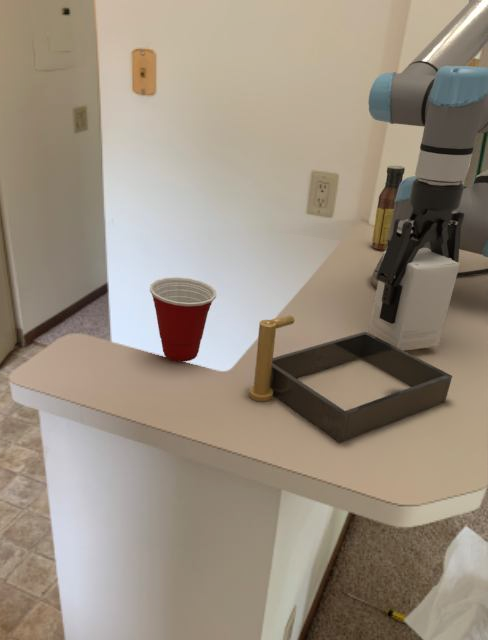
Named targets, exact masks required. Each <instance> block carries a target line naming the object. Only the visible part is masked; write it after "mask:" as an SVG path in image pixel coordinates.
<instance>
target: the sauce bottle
mask: <svg viewBox="0 0 488 640" xmlns="http://www.w3.org/2000/svg"><path fill="white" fill-rule="evenodd" d="M405 169H406V168H405V166H403V165H388V166H387V168H386V180H385V183H384V184H385V186H384V188H383V189H382V190H381V191H380V193H379V195H378V202H377V206H376V213H375V220H374V226H373V234H372V249H376V250H378V251H383V252H384V251H385V250H386V247H387V243H388V237H389V232H390V226H391V221H392V215H393V210H394V205H395V202H394V201H395V199H396V196H397V192H398V188H399V185H400V183H401V182H402V181H403V178H404V174H405Z"/></svg>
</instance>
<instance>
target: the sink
mask: <svg viewBox="0 0 488 640" xmlns="http://www.w3.org/2000/svg"><path fill="white" fill-rule="evenodd" d="M294 323H295V317H294V316H293V315H291V314H289V315H284V316H280V317H277V318H272V319H263V320H260V321H259V323H258V335H257V347H256V357H255V367H254V368H255V369H254V379H253V386H251V387H250V388H249V390H248V396H249V398H250V399H252V400H253V401H256V402H269V401H271V400H272V399H273V398H274V397H276V398H277V399H279V400H280V401H281V402H282V403H284V404H285V405H287V406H288V407H289V408H290V409H292V410H293V411H295V412H296V413H297V414H299V415H301V416H302V418H304V419H306V420H307V421H308V422H310V423H311V424H313V425H314V426H316V427H317V428H318V429H320V430H321V431H323V432H324V433H325V434H327V435H328V436H330V437H331V438H332V439H333V440H335V441H337V442H338V443H339V444H341V443H343V442H346V441H348V440H351V439H353V438H356V437H358V436H361V435H363V434H366V433H369V432H371V431H374V430H376V429H379V428H382V427H384V426H386V425H389V424H392V423H394V422H397V421H399V420H403V419H404V418H406V417H409V416H412V415H414V414H417V413H419V412H422V411H425V410H427V409H430V408H433V407H435V406H438V405H440V404H443V403H446V400H447V397H448V393H449V389H450V387H451V384H452V383H451V382H452V379H453V375H452V374H449V373H447V372H445V371H444V370H442V369H440V368H438V367H436V366H434V365H432V364H431V363H428V362H426V361H424V360H422V359H421V358H418V357H416V356H414V355H412V354H410V353H408V352H407V351H406V350H404V351H403V350H401V349H399V348H397V347H395V346H393V345H391V344H389V343H387V342H385V341H383V340H381V339H379V338H377V337H376V336H374V335H373V334H372V333H370V332H367V331H362V332H359V333H355V334H352V335H348V336H344V337H341V338H338V339H335V340H331V341H327V342H323V343H320V344H317V345H313V346H309V347H306V348H303V349H299V350H296V351H292V352H289V353H285V354H282V355H279V356H274V351H275V343H276V341H275V340H276V333H277V329H280V328H283V327H287V326H291V325H293V324H294ZM359 359H362V360H364V361H365V362H368V363H369V364H371V365H373V366H374V367H376V368H377V369H380V370H382V371H383V372H385V373H387V374H389V375H391V376H393V377H394V378H395V379H398V380H400V381H401V382H402V383H404V384H407V385H409V386H410V387H408V388H405V389H402V390H394V391H392V392H390V394H388V395H385V396H383V397H380V398H377V399H374V400H372V401H368V402H366V403H364V404H363V403H362V404H361V405H358V406H355V407H353V408H349V409H347V410H344V408H343V409H342V408H341V407H340V406H338V405H337V404H335V403H334V402H332V401H331V400H329V399H328V398H327V397H325V396H323V395H322V394H321V393H319V392H317V391H316V390H314V389H313V388H311V387H310V386H308V385H307V384H305V383H304V382H302V381H301V380H299V379H298V378H301V377H303V376H307V375H311V374H313V373H317V372H320V371H323V370H327V369H330V368H333V367H336V366H339V365H342V364H346V363H348V362H352V361H355V360H359Z"/></svg>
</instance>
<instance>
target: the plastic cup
mask: <svg viewBox="0 0 488 640" xmlns="http://www.w3.org/2000/svg"><path fill="white" fill-rule="evenodd" d="M149 292H150V294H151V297H152V301H153V304H154V310H155V315H156V321H157V327H158V333H159V338H160V342H161V348H162V353H163V355H164V357H165V358H166V359H167V360H169V361H172V362H176V363H177V362H178V363H179V362H180V363H181V362H182V363H185V362H189V361H190V362H191V361H193V360H195V359H196V358H197V357H198V354H199V351H200V346H201V342H202V339H203V335H204V331H205V327H206V322H207V318H208V314H209V311H210V309H211V306H212V304H213V302H214V300H215V299H216V298H217V290H216V289H215V288H214V287H213V286H212V285H211V284H208V283H206V282H204V281H201V280H197V279H193V278H189V277H178V276H176V277H175V276H174V277H164V278H161V279H156V280H154V282H151V284H150V285H149Z"/></svg>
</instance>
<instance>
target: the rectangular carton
mask: <svg viewBox="0 0 488 640" xmlns="http://www.w3.org/2000/svg"><path fill="white" fill-rule="evenodd" d="M385 253H386V251H383V252H382V255H383V258H384V255H385ZM382 261H383V259H382ZM460 266H461V263H460V262H458V263H457V262H455V261H453V260H452V258H447V257H445V256H442V255H439V254H437V253H434V252H431V250H430V249H429V248H422V249H419V250H418V252H417V254H416V256H415V257H414V259H413V261H412V262H411V263H408V264H407V267H406V271H405V275H404V277H403V278H402V280H401V282H400V284H399V285H401V286H402V291H401V296H400V300H399V305H398V309H397V314H396V319H395V323H393V324H391V323H389V322H387V321H384V320H382V319H380V318H379V317H380V312H381V307H382V296H383V291H384V285H385V284H384V283H383V282H381V281H378V286H377V288H376V292H375V298H374V303H373V308H372V313H371V318H370V323H369V329H368V333H369V334H371V335H373V336H375V337H377V338H379V339H381V340H383V341H385V342H387V343H389V344H391V345H393V346H395V347H397V348H399V349H401V350H403V351H410V350H412V351H413V350H418V349H419V350H420V349H428V348H435V347H437V348H438V347H439V346H440V342H441V338H442V334H443V331H444V326H445V324H446V319H447V315H448V311H449V307H450V303H451V299H452V295H453V292H454V288H455V284H456V280H457V277H458V276H457V273H459V268H460ZM394 278H395V277H394Z"/></svg>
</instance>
